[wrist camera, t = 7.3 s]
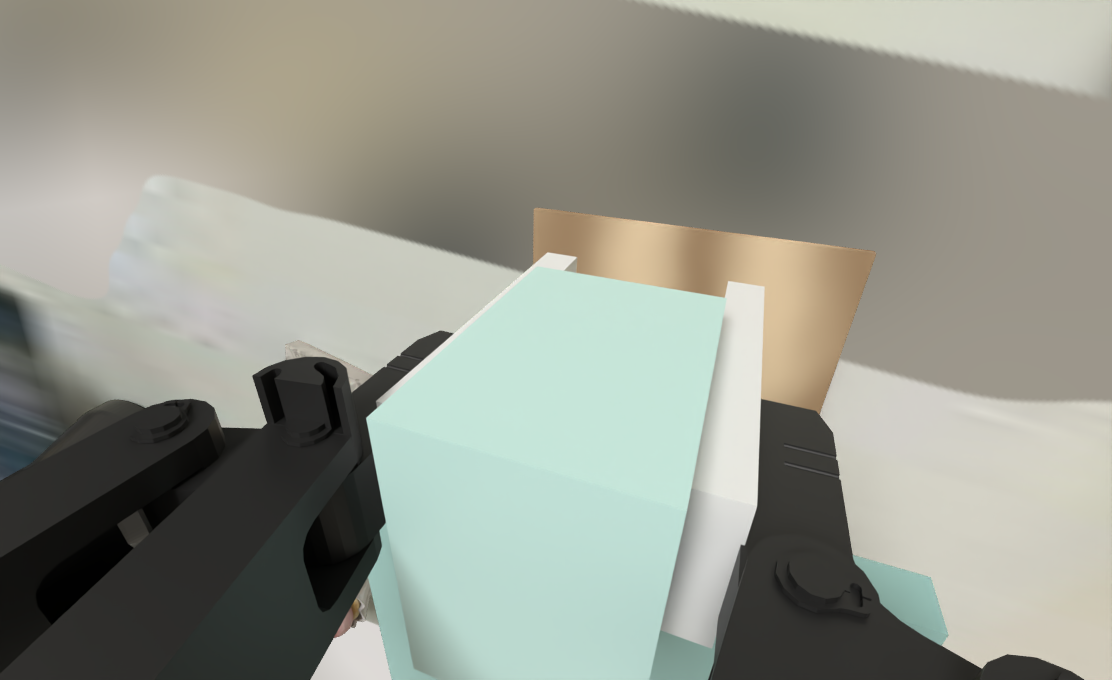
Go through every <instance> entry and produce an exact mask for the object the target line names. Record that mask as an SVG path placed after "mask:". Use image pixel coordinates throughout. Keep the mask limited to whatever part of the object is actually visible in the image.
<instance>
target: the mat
mask: <svg viewBox="0 0 1112 680" xmlns="http://www.w3.org/2000/svg"><path fill="white" fill-rule="evenodd" d="M533 238H534V239H533V242H534V243H533V265H534V264H535V263H536V262H537V261H538V260H539V259H541V258H542V257H543V256H544V255H545V254H546V253H547V252H548V253H555V254H561V255H567V256H574V257H577V270H576V273H580V274H586V275H592V276H598V277H604V278H610V279H616V280H622V281H628V282H634V283H640V284H646V285H652V286H658V287H664V288H669V289H675V290H681V291H687V292H693V293H699V294H705V295H711V296H717V297H723V298H725V294H726V289H727V284H728V281H732V282H738V283H744V284H751V285H757V286H763V287H765V291H764V320H763V350H762V379H761V399H764V400H769V401H773V402H778V403H783V404H787V405H792V406H796V407H801V408H805V409H810V410H815V411H817V413H818V414H820V411H821V408H822V405H823V402H824V400H825V397H826V394H827V391H828V388H829V386H830V383H831V380H832V377H833V374H834V372H835V369H836V366H837V363H838V360H839V357H840V355H841V352H842V349H843V346H844V343H845V341H846V338H847V335H848V332H849V329H850V327H851V324H852V321H853V318H854V315H855V312H856V310H857V307H858V304H859V301H860V298H861V295H862V293H863V290H864V287H865V284H866V282H867V279H868V275H869V273H870V270H871V267H872V265H873V262H874V259H875V256H876V253H875V251H870V250H862V249H854V248H846V247H838V246H831V245H822V244H815V243H807V242H799V241H791V240H784V239H776V238H768V237H760V236H753V235H745V234H738V233H729V232H722V231H714V230H707V229H699V228H691V227H683V226H675V225H667V224H659V223H651V222H644V221H637V220H629V219H621V218H613V217H606V216H598V215H590V214H582V213H575V212H567V211H559V210H551V209H543V208H535V209H534V237H533Z"/></svg>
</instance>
